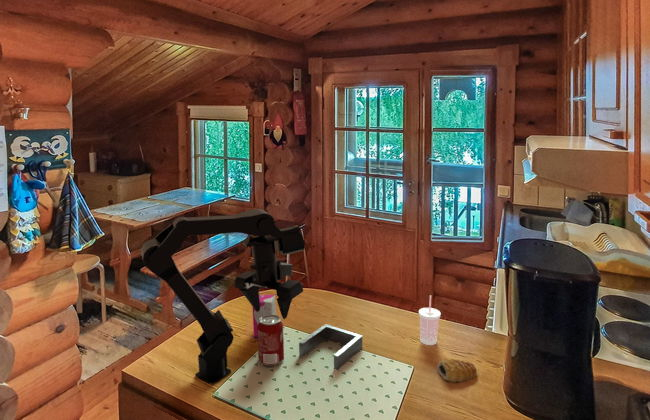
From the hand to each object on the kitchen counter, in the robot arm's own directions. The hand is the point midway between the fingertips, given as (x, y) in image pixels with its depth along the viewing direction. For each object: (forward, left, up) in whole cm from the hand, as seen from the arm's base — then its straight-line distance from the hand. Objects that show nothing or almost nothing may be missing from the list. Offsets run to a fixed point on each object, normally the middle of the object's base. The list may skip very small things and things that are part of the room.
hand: (271, 314), depth 115 cm
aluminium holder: (+12, -11, -13) cm, 21 cm away
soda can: (-1, 0, -13) cm, 13 cm away
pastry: (+20, -43, -13) cm, 49 cm away
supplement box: (+9, +11, -13) cm, 19 cm away
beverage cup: (+32, -31, -13) cm, 47 cm away
